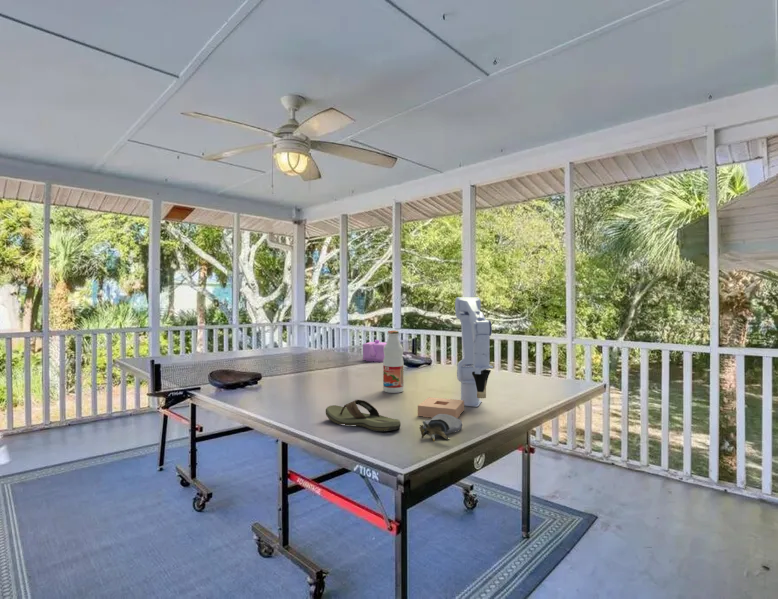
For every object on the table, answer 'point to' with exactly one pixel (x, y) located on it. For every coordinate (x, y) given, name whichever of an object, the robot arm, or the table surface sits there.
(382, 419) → the flip flop
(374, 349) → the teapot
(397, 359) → the fruit juice
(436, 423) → the eagle figurine
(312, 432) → the table surface
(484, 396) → the peg
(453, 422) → the stone block
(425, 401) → the socket
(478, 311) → the robot arm
